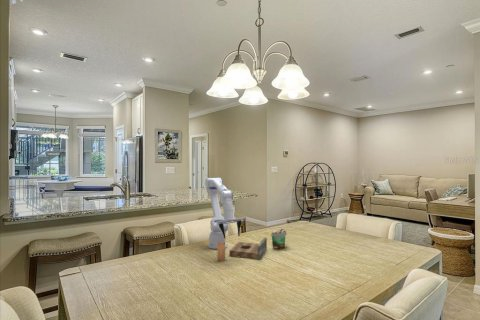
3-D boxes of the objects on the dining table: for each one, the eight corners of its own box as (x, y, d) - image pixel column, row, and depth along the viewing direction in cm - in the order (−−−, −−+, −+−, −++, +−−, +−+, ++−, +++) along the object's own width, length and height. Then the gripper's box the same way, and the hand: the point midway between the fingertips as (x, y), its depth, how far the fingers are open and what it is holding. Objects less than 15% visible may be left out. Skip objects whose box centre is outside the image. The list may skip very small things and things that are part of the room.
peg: (216, 261, 139) (216, 243, 139) (219, 258, 143) (219, 241, 143) (223, 261, 138) (223, 244, 138) (226, 259, 141) (226, 242, 141)
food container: (280, 251, 153) (280, 234, 153) (271, 249, 156) (271, 232, 156) (290, 246, 162) (290, 229, 162) (281, 244, 166) (281, 228, 166)
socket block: (229, 255, 146) (229, 243, 146) (238, 246, 161) (238, 235, 161) (260, 259, 141) (260, 246, 141) (266, 249, 156) (266, 237, 156)
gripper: (215, 212, 142) (218, 238, 137) (241, 208, 143) (245, 234, 138) (215, 214, 148) (218, 239, 143) (241, 210, 149) (245, 235, 144)
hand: (231, 236), depth 141 cm, fingers open, 7 cm apart
